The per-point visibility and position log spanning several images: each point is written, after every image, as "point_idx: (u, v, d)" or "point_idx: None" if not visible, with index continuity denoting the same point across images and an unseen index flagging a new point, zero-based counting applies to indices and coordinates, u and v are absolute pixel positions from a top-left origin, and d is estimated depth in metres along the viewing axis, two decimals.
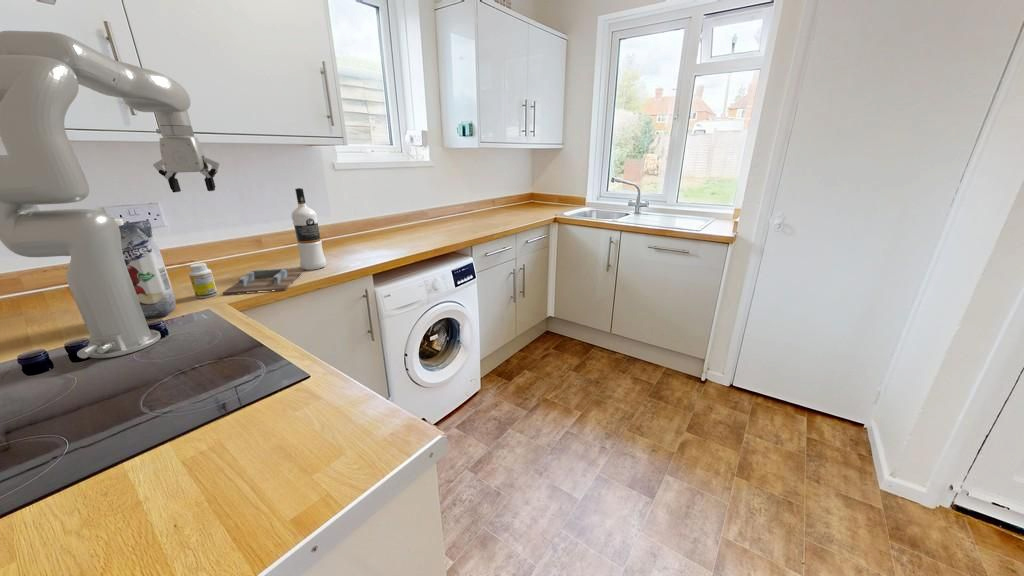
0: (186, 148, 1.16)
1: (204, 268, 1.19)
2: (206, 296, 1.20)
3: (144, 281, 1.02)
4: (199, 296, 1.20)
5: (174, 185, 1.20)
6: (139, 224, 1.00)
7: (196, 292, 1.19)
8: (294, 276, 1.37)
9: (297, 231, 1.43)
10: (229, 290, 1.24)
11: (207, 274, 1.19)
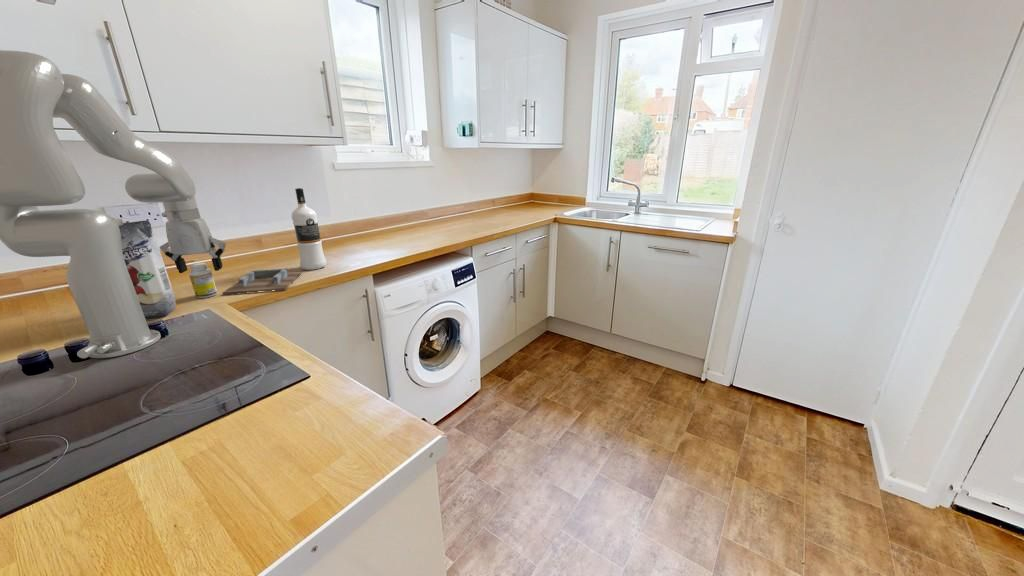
0: (193, 232, 1.14)
1: (204, 268, 1.19)
2: (206, 296, 1.20)
3: (145, 281, 1.02)
4: (199, 296, 1.20)
5: (181, 266, 1.18)
6: (139, 224, 1.00)
7: (196, 292, 1.19)
8: (294, 276, 1.37)
9: (297, 231, 1.43)
10: (229, 290, 1.24)
11: (207, 274, 1.19)
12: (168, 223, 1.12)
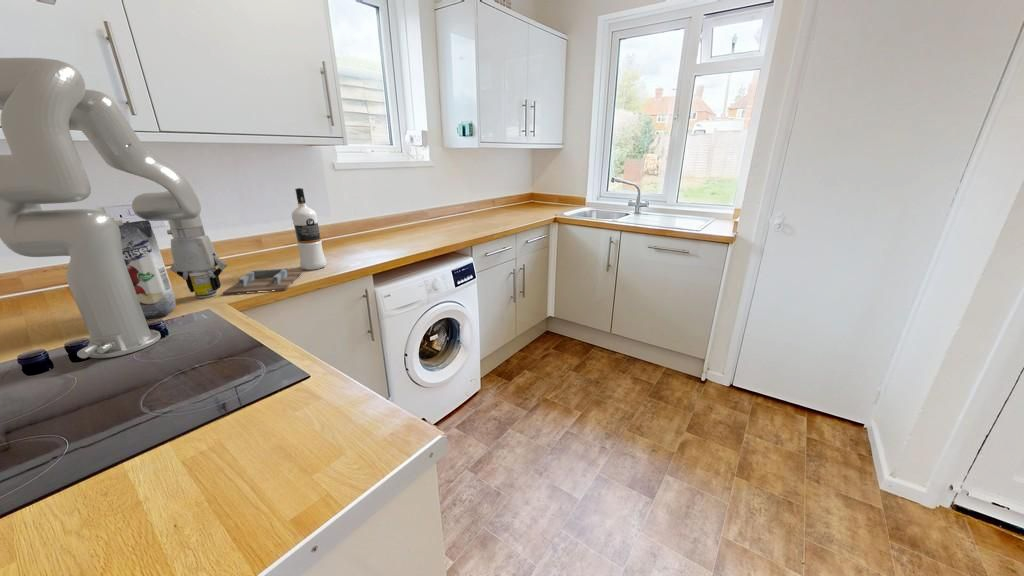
0: (197, 249, 1.15)
1: None
2: (206, 296, 1.20)
3: (144, 281, 1.02)
4: (199, 296, 1.20)
5: (192, 285, 1.20)
6: (139, 224, 1.00)
7: (196, 292, 1.19)
8: (294, 276, 1.37)
9: (297, 231, 1.43)
10: (229, 290, 1.24)
11: (207, 274, 1.19)
12: (173, 240, 1.14)
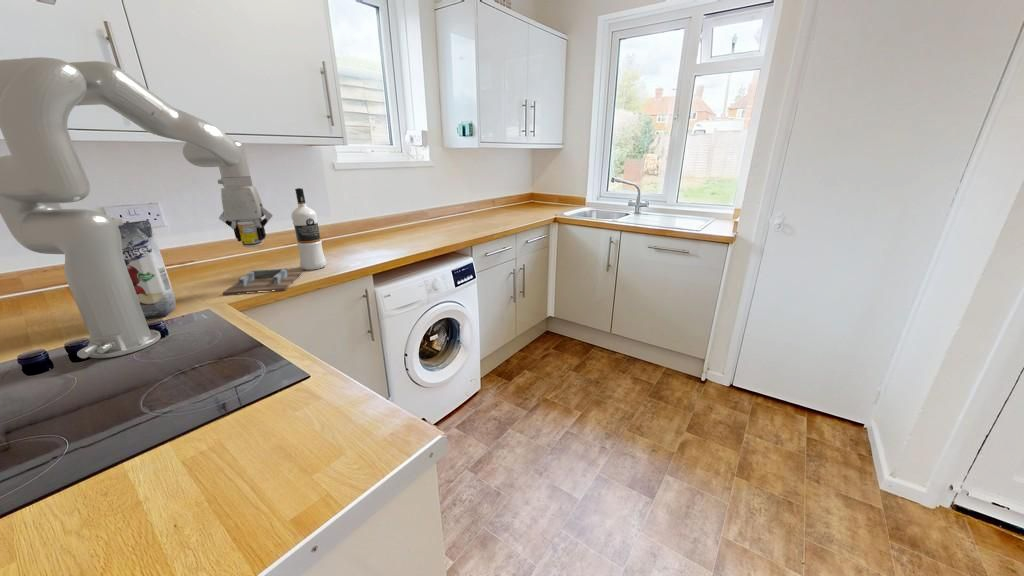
0: (246, 198, 1.20)
1: None
2: (253, 245, 1.25)
3: (144, 281, 1.02)
4: (246, 245, 1.25)
5: (239, 234, 1.25)
6: (139, 224, 1.00)
7: (243, 241, 1.24)
8: (294, 276, 1.37)
9: (297, 231, 1.43)
10: (229, 290, 1.24)
11: (254, 224, 1.24)
12: (224, 189, 1.18)
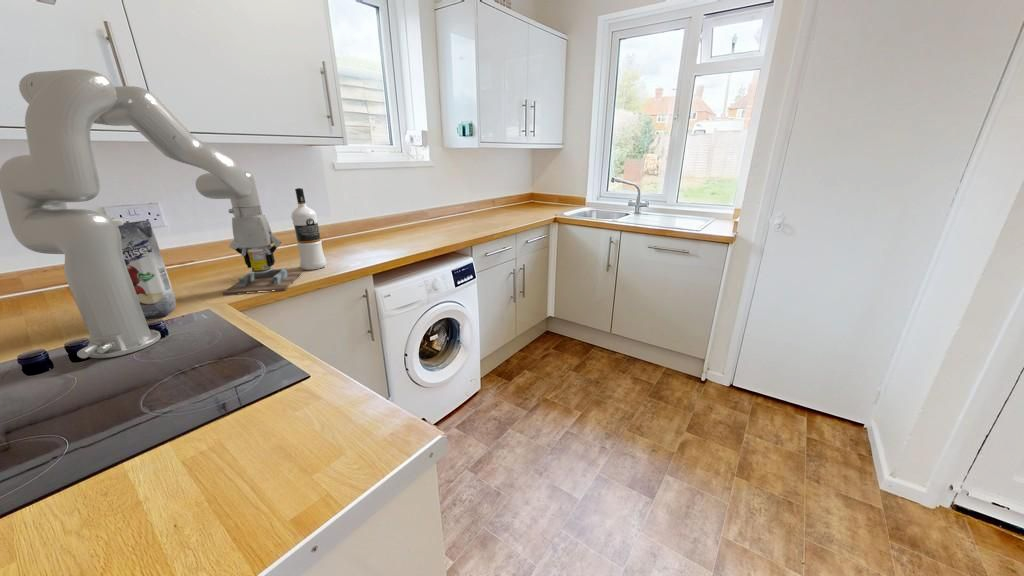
0: (256, 226, 1.24)
1: None
2: (262, 271, 1.29)
3: (144, 281, 1.02)
4: (256, 271, 1.28)
5: (249, 261, 1.28)
6: (139, 224, 1.00)
7: (253, 268, 1.28)
8: (294, 276, 1.37)
9: (297, 231, 1.43)
10: (229, 290, 1.24)
11: (264, 251, 1.28)
12: (234, 218, 1.22)
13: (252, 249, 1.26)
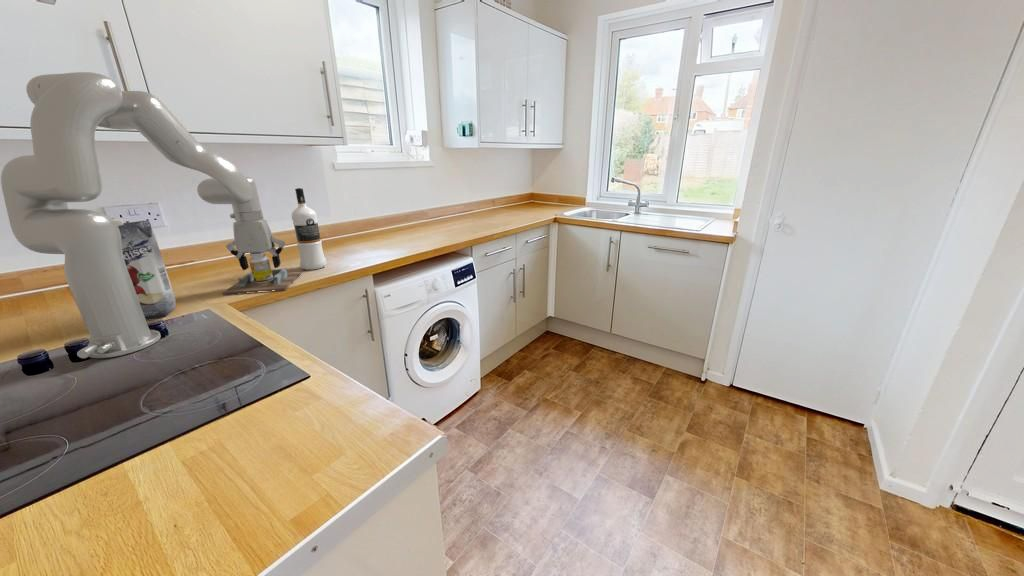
0: (257, 231, 1.24)
1: (263, 256, 1.28)
2: (264, 282, 1.30)
3: (144, 281, 1.02)
4: (258, 282, 1.29)
5: (244, 263, 1.28)
6: (139, 224, 1.00)
7: (255, 278, 1.29)
8: (294, 276, 1.37)
9: (297, 231, 1.43)
10: (229, 290, 1.24)
11: (266, 261, 1.29)
12: (236, 223, 1.22)
13: (254, 260, 1.27)
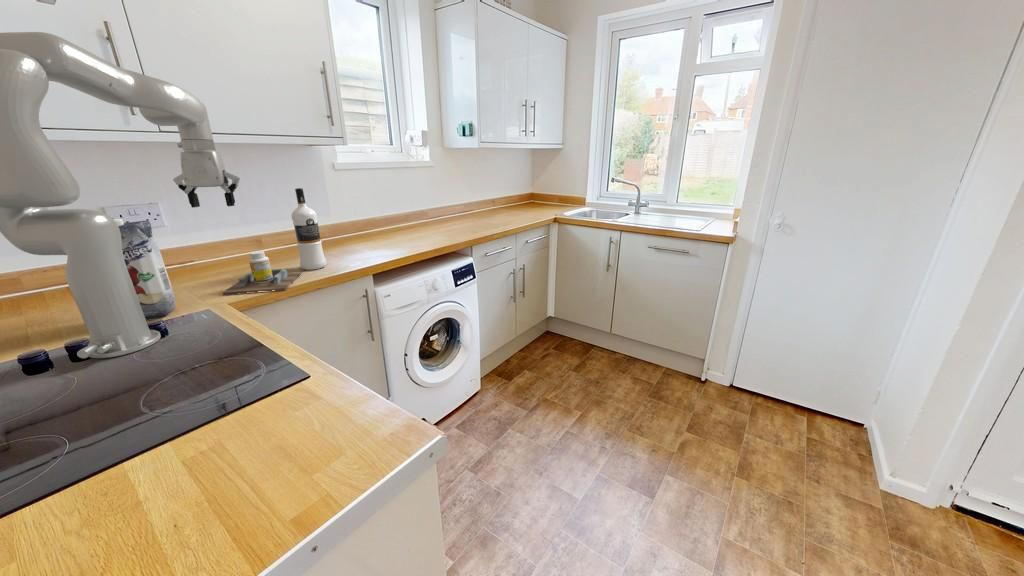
0: (207, 162, 1.12)
1: (263, 255, 1.28)
2: (264, 281, 1.30)
3: (145, 281, 1.02)
4: (258, 281, 1.29)
5: (193, 200, 1.16)
6: (139, 224, 1.00)
7: (255, 278, 1.29)
8: (294, 276, 1.37)
9: (297, 231, 1.43)
10: (229, 290, 1.24)
11: (266, 261, 1.29)
12: (183, 152, 1.11)
13: (254, 259, 1.27)
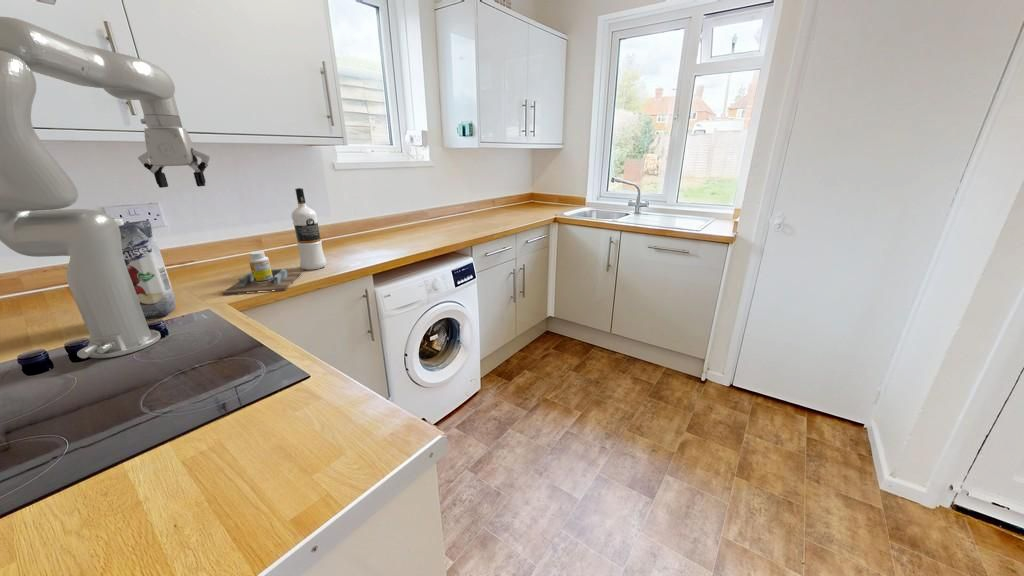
0: (173, 140, 1.07)
1: (263, 255, 1.28)
2: (264, 282, 1.30)
3: (145, 281, 1.02)
4: (258, 282, 1.29)
5: (161, 180, 1.11)
6: (139, 224, 1.00)
7: (255, 278, 1.29)
8: (294, 276, 1.37)
9: (297, 231, 1.43)
10: (229, 290, 1.24)
11: (266, 261, 1.29)
12: (147, 129, 1.05)
13: (254, 260, 1.27)
